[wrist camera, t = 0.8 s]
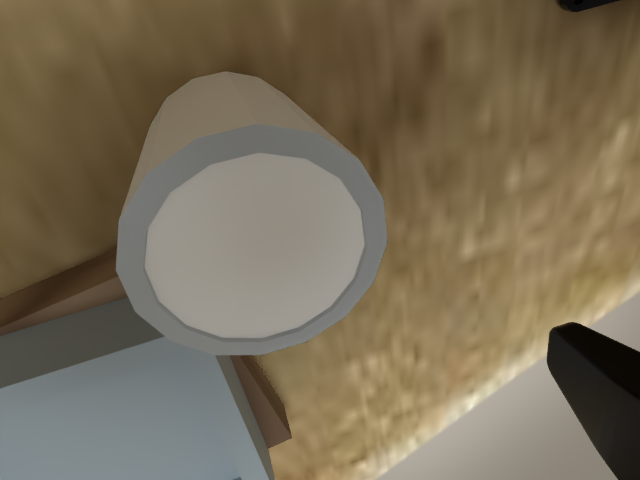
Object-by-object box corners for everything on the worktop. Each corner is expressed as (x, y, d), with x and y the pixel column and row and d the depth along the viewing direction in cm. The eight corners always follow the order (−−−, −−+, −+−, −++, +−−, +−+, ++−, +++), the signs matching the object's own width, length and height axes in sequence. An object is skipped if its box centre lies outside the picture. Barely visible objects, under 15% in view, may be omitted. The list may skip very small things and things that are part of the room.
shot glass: (85, 104, 17) (48, 207, 11) (281, 17, 17) (343, 74, 11) (187, 260, 21) (198, 395, 15) (345, 188, 21) (416, 295, 15)
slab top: (196, 276, 19) (201, 324, 17) (268, 451, 25) (279, 503, 23) (-121, 372, 18) (-160, 439, 16) (37, 531, 24) (25, 594, 22)
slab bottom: (170, 217, 20) (172, 252, 18) (281, 397, 27) (291, 437, 25) (-121, 344, 20) (-153, 394, 18) (66, 494, 27) (59, 542, 25)
